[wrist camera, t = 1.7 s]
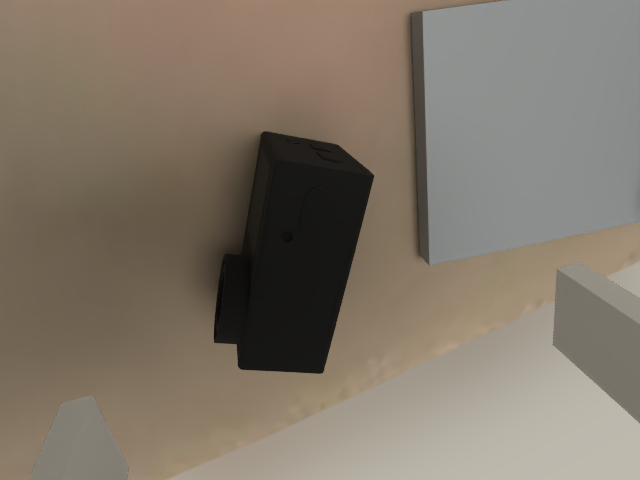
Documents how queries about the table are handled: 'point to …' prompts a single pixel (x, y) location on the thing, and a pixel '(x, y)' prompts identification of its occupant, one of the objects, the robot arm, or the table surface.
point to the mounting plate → (525, 123)
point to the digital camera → (292, 255)
